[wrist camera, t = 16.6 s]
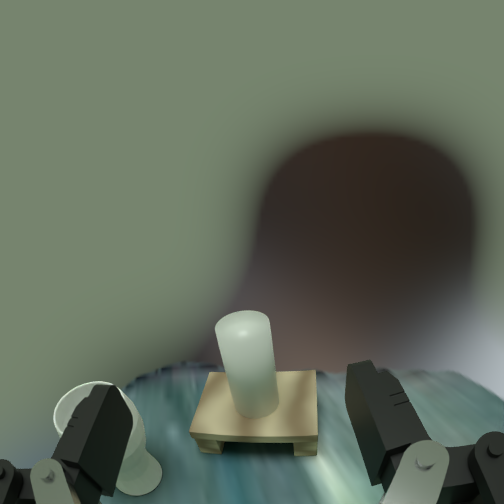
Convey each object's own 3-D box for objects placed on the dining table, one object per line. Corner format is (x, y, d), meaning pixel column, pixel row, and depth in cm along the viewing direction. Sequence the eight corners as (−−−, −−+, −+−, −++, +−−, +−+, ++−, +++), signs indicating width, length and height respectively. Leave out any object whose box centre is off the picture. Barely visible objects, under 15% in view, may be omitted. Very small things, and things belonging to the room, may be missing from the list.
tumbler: (268, 381, 41) (257, 305, 37) (286, 408, 36) (278, 330, 31) (228, 395, 39) (209, 320, 35) (243, 424, 34) (224, 348, 29)
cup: (103, 505, 26) (41, 444, 21) (106, 450, 36) (59, 382, 30) (176, 500, 28) (128, 440, 23) (169, 442, 38) (131, 372, 33)
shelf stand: (315, 396, 44) (315, 370, 42) (316, 458, 33) (317, 435, 31) (217, 397, 47) (209, 372, 45) (200, 454, 36) (188, 431, 33)
